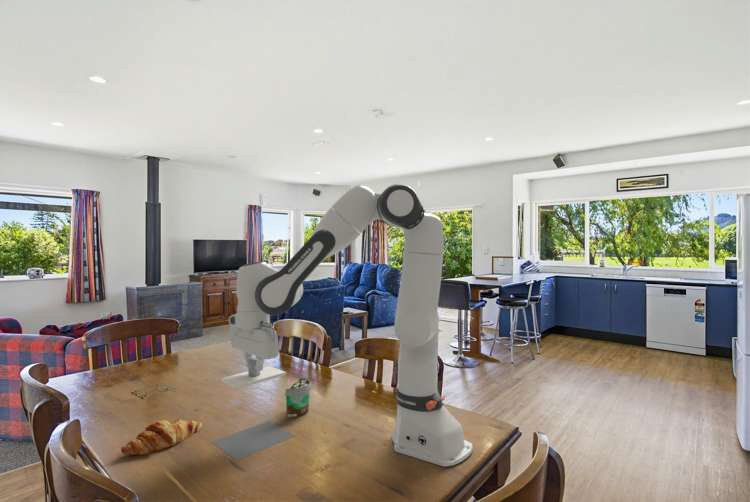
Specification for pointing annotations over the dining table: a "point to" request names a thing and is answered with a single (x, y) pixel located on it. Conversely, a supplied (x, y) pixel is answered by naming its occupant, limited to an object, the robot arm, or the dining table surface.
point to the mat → (252, 440)
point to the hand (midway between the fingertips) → (254, 368)
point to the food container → (298, 398)
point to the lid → (252, 375)
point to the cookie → (155, 392)
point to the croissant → (161, 436)
